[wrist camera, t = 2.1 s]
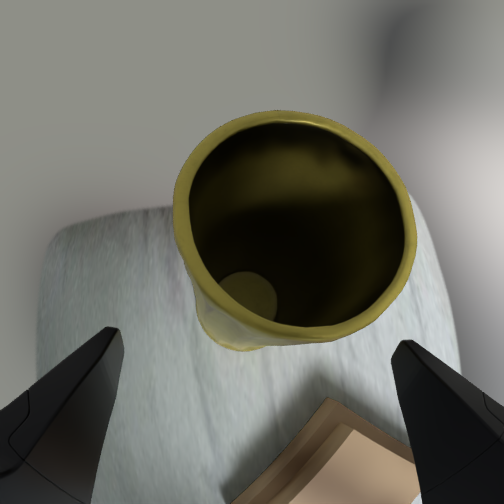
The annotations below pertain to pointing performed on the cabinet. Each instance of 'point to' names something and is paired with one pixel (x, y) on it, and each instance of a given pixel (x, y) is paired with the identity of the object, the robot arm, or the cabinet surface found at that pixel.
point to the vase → (291, 231)
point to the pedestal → (337, 465)
